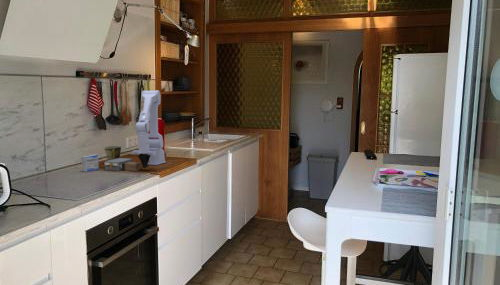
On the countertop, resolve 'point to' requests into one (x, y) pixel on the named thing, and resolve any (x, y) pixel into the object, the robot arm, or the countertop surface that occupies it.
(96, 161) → the medicine box
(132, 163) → the walnut block
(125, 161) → the gauge plunger
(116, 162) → the gauge housing
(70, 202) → the countertop surface
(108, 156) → the ceramic cup
